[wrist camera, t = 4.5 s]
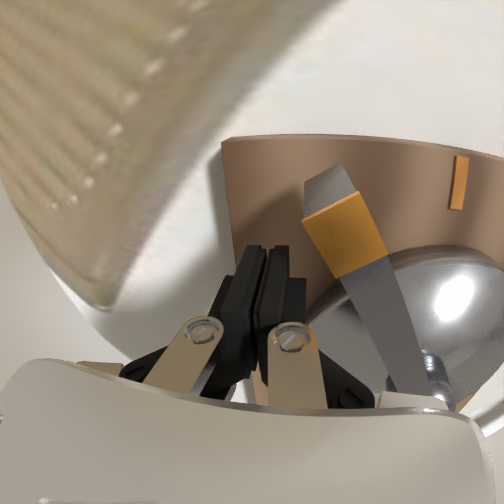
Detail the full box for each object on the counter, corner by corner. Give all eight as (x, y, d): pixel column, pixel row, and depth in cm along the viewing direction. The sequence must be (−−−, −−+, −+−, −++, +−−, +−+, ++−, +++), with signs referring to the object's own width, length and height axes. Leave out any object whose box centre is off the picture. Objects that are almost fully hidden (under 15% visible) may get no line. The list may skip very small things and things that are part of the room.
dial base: (556, 175, 9) (573, 185, 7) (452, 402, 23) (455, 416, 21) (231, 137, 14) (220, 142, 12) (262, 411, 28) (259, 427, 26)
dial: (503, 362, 16) (520, 410, 11) (341, 426, 23) (339, 475, 18) (470, 87, 8) (551, 95, 3) (176, 247, 15) (124, 315, 11)
